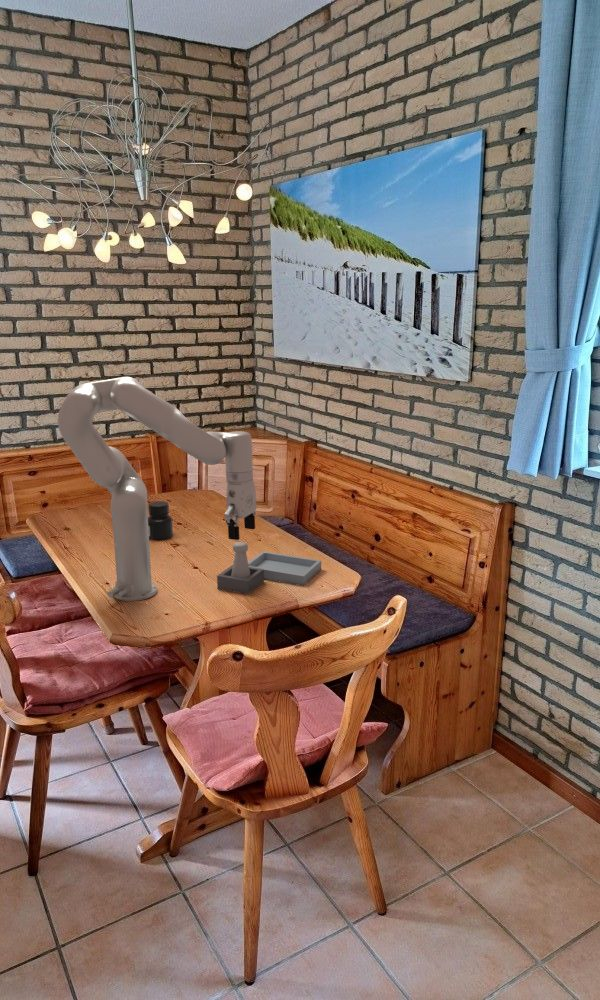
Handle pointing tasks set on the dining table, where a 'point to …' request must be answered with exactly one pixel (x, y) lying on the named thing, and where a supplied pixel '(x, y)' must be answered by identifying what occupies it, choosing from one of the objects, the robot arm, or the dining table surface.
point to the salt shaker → (240, 561)
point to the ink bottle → (159, 521)
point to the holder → (240, 580)
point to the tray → (286, 567)
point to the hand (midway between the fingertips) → (242, 533)
